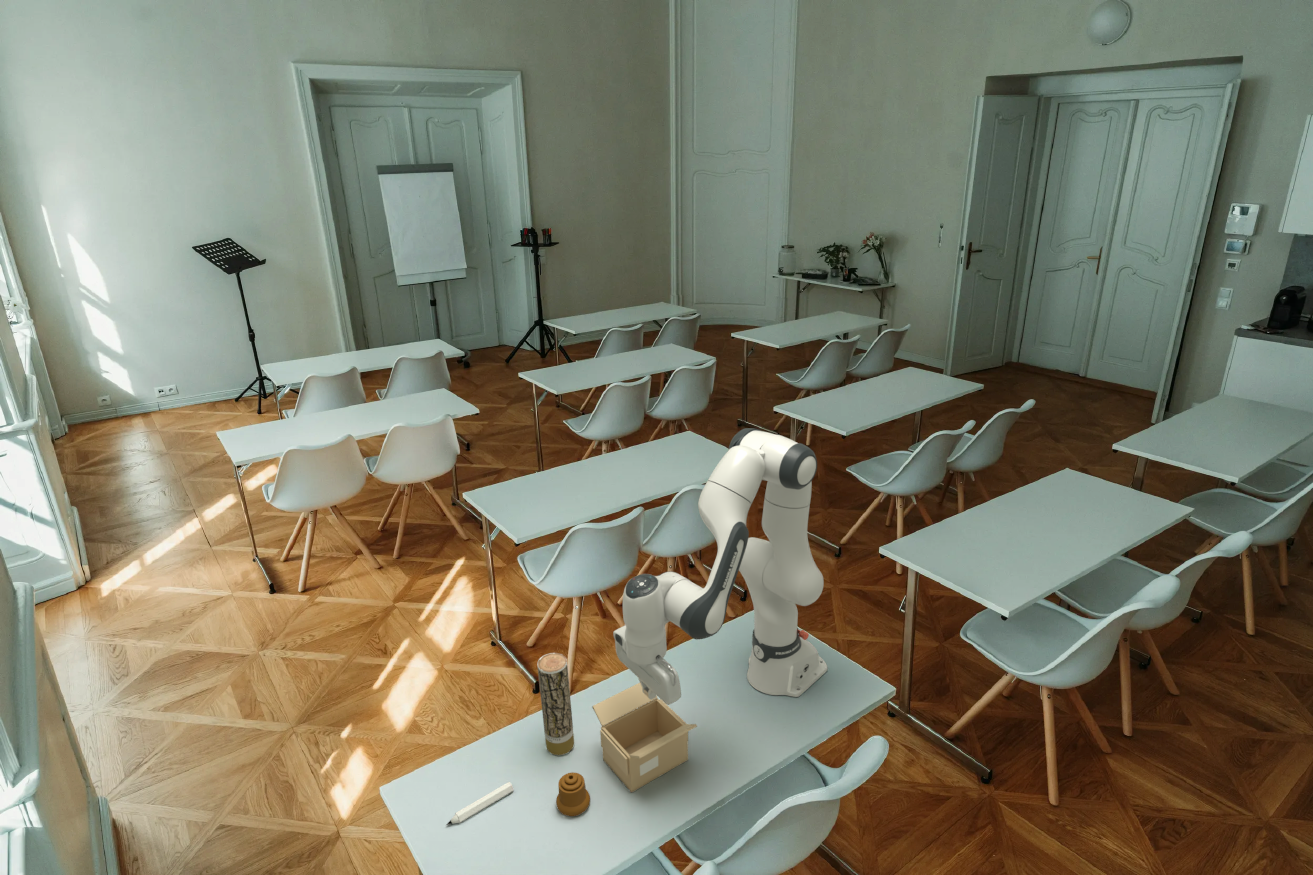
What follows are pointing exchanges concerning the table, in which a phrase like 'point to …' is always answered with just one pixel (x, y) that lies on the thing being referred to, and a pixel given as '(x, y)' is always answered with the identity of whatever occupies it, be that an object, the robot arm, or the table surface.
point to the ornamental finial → (572, 795)
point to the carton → (643, 744)
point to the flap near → (662, 741)
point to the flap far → (620, 704)
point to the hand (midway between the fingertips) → (649, 695)
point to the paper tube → (556, 703)
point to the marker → (481, 803)
